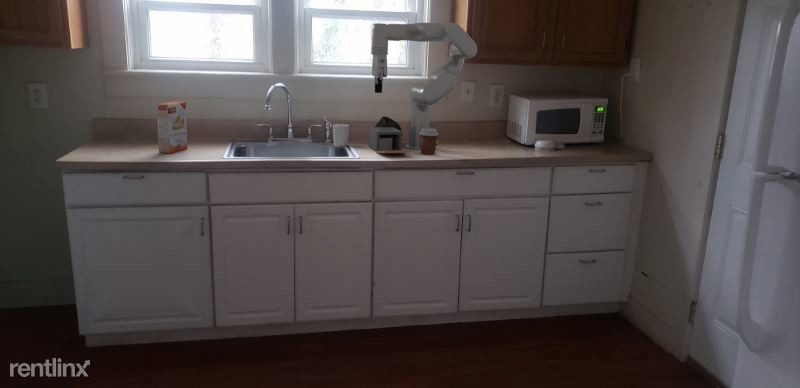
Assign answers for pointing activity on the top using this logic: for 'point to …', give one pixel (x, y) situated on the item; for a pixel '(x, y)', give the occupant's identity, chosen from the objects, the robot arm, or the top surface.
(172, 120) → the cracker box
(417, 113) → the robot arm
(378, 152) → the side door
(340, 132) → the white cup
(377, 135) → the case
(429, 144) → the coffee cup
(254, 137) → the top surface
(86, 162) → the top surface
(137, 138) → the top surface
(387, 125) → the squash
